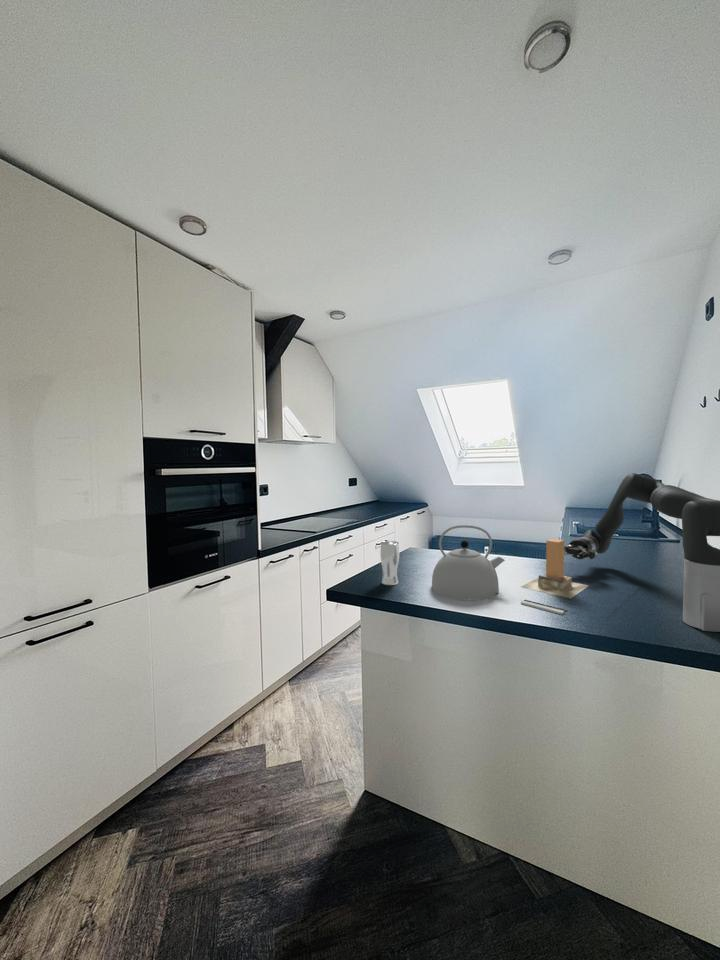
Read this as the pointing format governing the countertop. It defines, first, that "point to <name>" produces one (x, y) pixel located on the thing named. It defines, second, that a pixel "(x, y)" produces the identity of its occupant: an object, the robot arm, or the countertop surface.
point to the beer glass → (389, 562)
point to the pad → (544, 607)
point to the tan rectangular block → (555, 558)
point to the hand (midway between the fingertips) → (567, 554)
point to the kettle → (466, 572)
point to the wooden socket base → (556, 586)
